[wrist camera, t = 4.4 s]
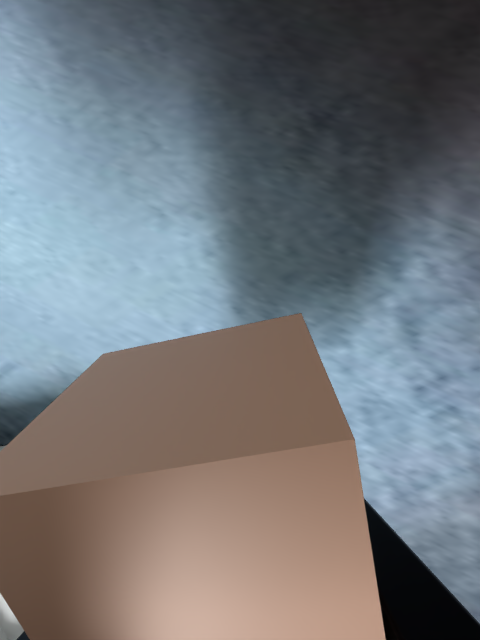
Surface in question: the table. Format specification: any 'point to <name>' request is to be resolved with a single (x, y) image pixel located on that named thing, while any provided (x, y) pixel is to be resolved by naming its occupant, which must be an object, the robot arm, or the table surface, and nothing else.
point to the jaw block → (191, 498)
